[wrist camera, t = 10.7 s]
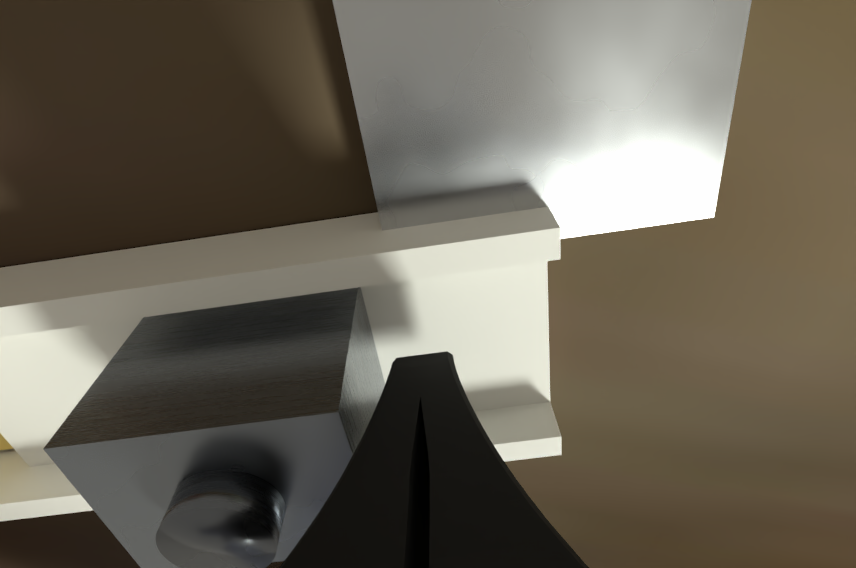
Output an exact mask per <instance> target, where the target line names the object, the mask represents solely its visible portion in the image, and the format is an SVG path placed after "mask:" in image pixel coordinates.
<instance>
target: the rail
mask: <svg viewBox="0 0 856 568" xmlns="http://www.w3.org/2000/svg"><path fill="white" fill-rule="evenodd" d="M559 259H560V226H559V225H558V223H557V221H556V219H555V218H554V216H553V214H552V212H551V211H550V209H549V207H542V208H535V209H528V210H521V211H514V212H507V213H500V214H493V215H486V216H480V217H473V218H466V219H459V220H452V221H445V222H438V223H431V224H424V225H417V226H411V227H404V228H397V229H390V230H383V231H382V228H381V223H380V218H379V214H378V212H376V213H369V214H362V215H355V216H349V217H342V218H335V219H328V220H321V221H315V222H308V223H301V224H294V225H287V226H281V227H274V228H267V229H260V230H253V231H247V232H240V233H233V234H226V235H219V236H213V237H206V238H199V239H192V240H185V241H179V242H172V243H165V244H158V245H151V246H145V247H138V248H131V249H124V250H117V251H111V252H104V253H97V254H90V255H83V256H77V257H70V258H63V259H56V260H49V261H43V262H36V263H29V264H22V265H15V266H9V267H2V268H0V521H8V520H17V519H25V518H34V517H42V516H50V515H59V514H67V513H76V512H84V511H92V510H93V509H92V508H91V507H90V505H89V504H88V503H87V502H86V501H85V499H84V498H83V497H82V496H81V495H80V493H79V492H78V491H77V490H76V488H75V487H74V486H73V485H72V484H71V482H70V481H69V480H68V479H67V478H66V476H65V475H64V474H63V473H62V471H61V470H60V469H59V468H58V467H57V465H56V464H55V463H54V462H53V461H52V459H51V458H50V457H49V456H48V454H47V453H46V452H45V451H44V450H43V448H44V447H45V446H46V444H47V443H48V442H49V441H50V439H51V438H52V437H53V435H54V434H55V433H56V431H57V430H58V429H59V427H60V426H61V425H62V423H63V422H64V421H65V420H66V418H67V417H68V416H69V414H70V413H71V412H72V410H73V409H74V408H75V406H76V405H77V404H78V402H79V401H80V400H81V399H82V397H83V396H84V395H85V393H86V392H87V391H88V389H89V388H90V387H91V385H92V384H93V383H94V381H95V380H96V379H97V378H98V376H99V375H100V374H101V372H102V371H103V370H104V368H105V367H106V366H107V364H108V363H109V362H110V360H111V359H112V358H113V357H114V355H115V354H116V353H117V351H118V350H119V349H120V347H121V346H122V345H123V343H124V342H125V341H126V339H127V338H128V337H129V336H130V334H131V333H132V332H133V330H134V329H135V328H136V326H137V325H138V324H139V322H140V321H141V320H142V318H143V317H150V316H157V315H164V314H171V313H178V312H185V311H193V310H200V309H207V308H214V307H221V306H228V305H236V304H243V303H250V302H257V301H264V300H271V299H279V298H286V297H293V296H300V295H307V294H315V293H322V292H329V291H336V290H343V289H350V288H358V287H361V291H362V295H363V299H364V303H365V307H366V311H367V315H368V319H369V323H370V326H371V330H372V334H373V338H374V342H375V346H376V350H377V354H378V358H379V362H380V366H381V370H382V374H383V378H384V382H385V384H386V381H387V378H388V375H389V372H390V369H391V366H392V362H393V361H394V360H395V359H396V358H399V357H407V356H414V355H422V354H430V353H438V352H446V351H448V352H449V353H451V354H452V355H453V358H454V363H455V367H456V371H457V374H458V376H459V379H460V382H461V384H462V386H463V389H464V391H465V393H466V396H467V398H468V400H469V402H470V404H471V406H472V408H473V410H474V412H475V413H476V415H477V417H478V419H479V421H480V423H481V425H482V426H483V428H484V430H485V432H486V433H487V435H488V437H489V439H490V440H491V442H492V443H493V445H494V447H495V448H496V450H497V451H498V453H499V454H500V456H501V458H502V459H503V461H513V460H521V459H530V458H538V457H546V456H555V455H562V454H561V434H560V431H559V427H558V424H557V421H556V418H555V415H554V412H553V409H552V406H551V403H550V366H549V320H548V273H547V261H551V260H559Z"/></svg>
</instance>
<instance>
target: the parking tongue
mask: <svg viewBox="0 0 856 568" xmlns="http://www.w3.org/2000/svg"><path fill="white" fill-rule="evenodd" d="M332 1H333V5H334V10H335V15H336V19H337V24H338V28H339V33H340V38H341V42H342V47H343V52H344V56H345V61H346V66H347V70H348V75H349V79H350V84H351V89H352V93H353V98H354V103H355V107H356V112H357V117H358V121H359V126H360V130H361V135H362V140H363V144H364V149H365V154H366V158H367V163H368V167H369V172H370V177H371V181H372V186H373V191H374V195H375V200H376V205H377V209H378V214H379V218H380V223H381V228H382V231H383V230H390V229H397V228H404V227H411V226H417V225H424V224H431V223H438V222H445V221H452V220H459V219H466V218H473V217H480V216H486V215H493V214H500V213H507V212H514V211H521V210H528V209H535V208H542V207H549V209H550V211H551V212H552V214H553V216H554V218H555V219H556V221H557V223H558V225H559V226H560V239H563V238H570V237H577V236H584V235H591V234H599V233H606V232H613V231H620V230H627V229H634V228H641V227H648V226H655V225H662V224H669V223H676V222H683V221H690V220H697V219H705V218H712V217H714V214H715V209H716V203H717V197H718V191H719V186H720V180H721V174H722V168H723V162H724V157H725V151H726V145H727V139H728V134H729V128H730V122H731V116H732V110H733V105H734V99H735V93H736V87H737V82H738V76H739V70H740V64H741V59H742V53H743V47H744V41H745V35H746V30H747V24H748V18H749V12H750V7H751V1H752V0H332Z"/></svg>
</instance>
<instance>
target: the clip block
mask: <svg viewBox="0 0 856 568" xmlns="http://www.w3.org/2000/svg"><path fill="white" fill-rule="evenodd" d="M384 386H385V382H384V378H383V374H382V370H381V366H380V362H379V358H378V354H377V350H376V346H375V342H374V338H373V334H372V330H371V326H370V323H369V319H368V315H367V311H366V307H365V303H364V299H363V295H362V291H361V287H358V288H350V289H343V290H336V291H329V292H322V293H315V294H307V295H300V296H293V297H286V298H279V299H271V300H264V301H257V302H250V303H243V304H236V305H228V306H221V307H214V308H207V309H200V310H193V311H185V312H178V313H171V314H164V315H157V316H150V317H143V318H142V320H141V321H140V322H139V324H138V325H137V326H136V328H135V329H134V330H133V332H132V333H131V334H130V336H129V337H128V338H127V339H126V341H125V342H124V343H123V345H122V346H121V347H120V349H119V350H118V351H117V353H116V354H115V355H114V357H113V358H112V359H111V360H110V362H109V363H108V364H107V366H106V367H105V368H104V370H103V371H102V372H101V374H100V375H99V376H98V378H97V379H96V380H95V381H94V383H93V384H92V385H91V387H90V388H89V389H88V391H87V392H86V393H85V395H84V396H83V397H82V399H81V400H80V401H79V402H78V404H77V405H76V406H75V408H74V409H73V410H72V412H71V413H70V414H69V416H68V417H67V418H66V420H65V421H64V422H63V423H62V425H61V426H60V427H59V429H58V430H57V431H56V433H55V434H54V435H53V437H52V438H51V439H50V441H49V442H48V443H47V444H46V446H45V447H44V448H43V450H44V451H45V452H46V453H47V454H48V456H49V457H50V458H51V459H52V461H53V462H54V463H55V464H56V465H57V467H58V468H59V469H60V470H61V471H62V473H63V474H64V475H65V476H66V478H67V479H68V480H69V481H70V482H71V484H72V485H73V486H74V487H75V488H76V490H77V491H78V492H79V493H80V495H81V496H82V497H83V498H84V499H85V501H86V502H87V503H88V504H89V505H90V507H91V508H92V509H93V510H94V511H95V513H96V514H97V515H98V516H99V518H100V519H101V520H102V521H103V522H104V524H105V525H106V526H107V527H108V528H109V530H110V531H111V532H112V533H113V535H114V536H115V537H116V538H117V539H118V541H119V542H120V543H121V544H122V545H123V547H124V548H125V549H126V550H127V552H128V553H129V554H130V555H131V556H132V558H133V559H134V560H135V561H136V562H137V564H138V565H139V566H140V567H141V568H266V567H267V566H268V565H270V564H271V562H279V561H285V559H286V558H287V557H288V555H289V554H290V553H291V551H292V550H293V549H294V547H295V546H296V544H297V543H298V542H299V540H300V539H301V537H302V536H303V535H304V533H305V532H306V530H307V529H308V527H309V526H310V525H311V523H312V522H313V520H314V519H315V517H316V516H317V514H318V513H319V511H320V510H321V508H322V507H323V505H324V504H325V502H326V500H327V499H328V497H329V496H330V494H331V492H332V491H333V489H334V488H335V486H336V484H337V482H338V481H339V479H340V477H341V476H342V474H343V472H344V470H345V469H346V467H347V465H348V463H349V461H350V459H351V457H352V455H353V454H354V452H355V450H356V448H357V446H358V444H359V442H360V440H361V438H362V436H363V434H364V432H365V430H366V428H367V426H368V424H369V421H370V419H371V417H372V415H373V413H374V411H375V408H376V406H377V404H378V401H379V399H380V396H381V394H382V392H383V389H384Z"/></svg>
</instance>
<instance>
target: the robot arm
mask: <svg viewBox="0 0 856 568" xmlns="http://www.w3.org/2000/svg"><path fill="white" fill-rule="evenodd" d="M279 568H589V567H588V566H587V565H586V564H585V563H584V562H583V561H582V560H581V558H580V557H579V556H578V555H577V554H576V553H575V552H574V550H573V549H572V548H571V547H570V546H569V545H568V543H567V542H566V541H565V540H564V539H563V538H562V537H561V535H560V534H559V533H558V532H557V531H556V530H555V528H554V527H553V526H552V525H551V524H550V523H549V521H548V520H547V519H546V518H545V517H544V515H543V514H542V513H541V511H540V510H539V509H538V508H537V506H536V505H535V504H534V502H533V501H532V500H531V499H530V497H529V496H528V495H527V493H526V492H525V491H524V489H523V488H522V486H521V485H520V484H519V482H518V481H517V480H516V478H515V477H514V475H513V474H512V473H511V471H510V470H509V468H508V467H507V465H506V464H505V462H504V461H503V459H502V458H501V456H500V454H499V453H498V451H497V450H496V448H495V447H494V445H493V443H492V442H491V440H490V439H489V437H488V435H487V433H486V432H485V430H484V428H483V426H482V425H481V423H480V421H479V419H478V417H477V415H476V413H475V412H474V410H473V408H472V406H471V404H470V402H469V400H468V398H467V396H466V393H465V391H464V389H463V386H462V384H461V382H460V379H459V376H458V374H457V371H456V367H455V363H454V358H453V355H452V354H451V353H449V352H448V351H446V352H438V353H430V354H422V355H414V356H407V357H399V358H396V359H395V360H394V361H393V362H392V366H391V369H390V372H389V375H388V378H387V381H386V384H385V386H384V389H383V392H382V394H381V396H380V399H379V401H378V404H377V406H376V408H375V411H374V413H373V415H372V417H371V419H370V421H369V424H368V426H367V428H366V430H365V432H364V434H363V436H362V438H361V440H360V442H359V444H358V446H357V448H356V450H355V452H354V454H353V455H352V457H351V459H350V461H349V463H348V465H347V467H346V469H345V470H344V472H343V474H342V476H341V477H340V479H339V481H338V482H337V484H336V486H335V488H334V489H333V491H332V492H331V494H330V496H329V497H328V499H327V500H326V502H325V504H324V505H323V507H322V508H321V510H320V511H319V513H318V514H317V516H316V517H315V519H314V520H313V522H312V523H311V525H310V526H309V527H308V529H307V530H306V532H305V533H304V535H303V536H302V537H301V539H300V540H299V542H298V543H297V544H296V546H295V547H294V549H293V550H292V551H291V553H290V554H289V555H288V557H287V558H286V559H285V561H284V562H283V563H282V565H281V566H280V567H279Z"/></svg>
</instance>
